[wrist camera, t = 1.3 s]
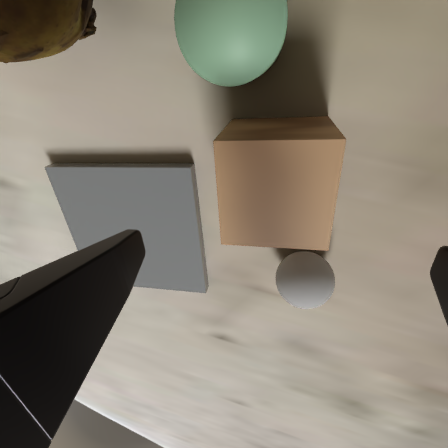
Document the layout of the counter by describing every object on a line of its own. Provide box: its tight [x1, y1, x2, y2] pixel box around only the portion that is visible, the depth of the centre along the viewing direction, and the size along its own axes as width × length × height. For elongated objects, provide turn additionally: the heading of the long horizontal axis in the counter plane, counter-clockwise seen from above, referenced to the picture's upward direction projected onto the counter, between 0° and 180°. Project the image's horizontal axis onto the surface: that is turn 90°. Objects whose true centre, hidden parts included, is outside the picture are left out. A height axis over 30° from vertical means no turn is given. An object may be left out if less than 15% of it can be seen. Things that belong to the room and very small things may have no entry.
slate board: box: [45, 163, 208, 293], centre depth 20 cm, size 10×10×1 cm
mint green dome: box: [174, 0, 288, 87], centre depth 12 cm, size 4×4×3 cm
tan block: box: [213, 116, 346, 251], centre depth 14 cm, size 5×5×5 cm
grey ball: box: [276, 251, 335, 309], centre depth 18 cm, size 4×4×4 cm
